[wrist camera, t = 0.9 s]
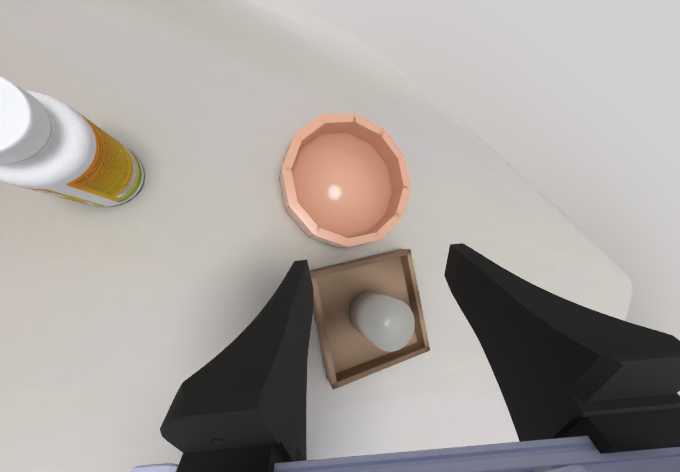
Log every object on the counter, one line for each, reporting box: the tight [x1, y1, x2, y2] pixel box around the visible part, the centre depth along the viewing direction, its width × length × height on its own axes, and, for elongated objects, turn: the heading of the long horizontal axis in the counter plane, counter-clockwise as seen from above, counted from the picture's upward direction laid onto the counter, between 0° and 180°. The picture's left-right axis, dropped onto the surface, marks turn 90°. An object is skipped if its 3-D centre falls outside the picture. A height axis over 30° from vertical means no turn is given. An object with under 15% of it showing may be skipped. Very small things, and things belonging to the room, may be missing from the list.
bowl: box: [280, 113, 411, 247], centre depth 25 cm, size 13×13×3 cm
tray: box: [310, 249, 430, 389], centre depth 25 cm, size 11×11×2 cm
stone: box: [349, 290, 415, 352], centre depth 23 cm, size 4×4×5 cm
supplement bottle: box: [0, 76, 144, 207], centre depth 15 cm, size 5×5×10 cm
